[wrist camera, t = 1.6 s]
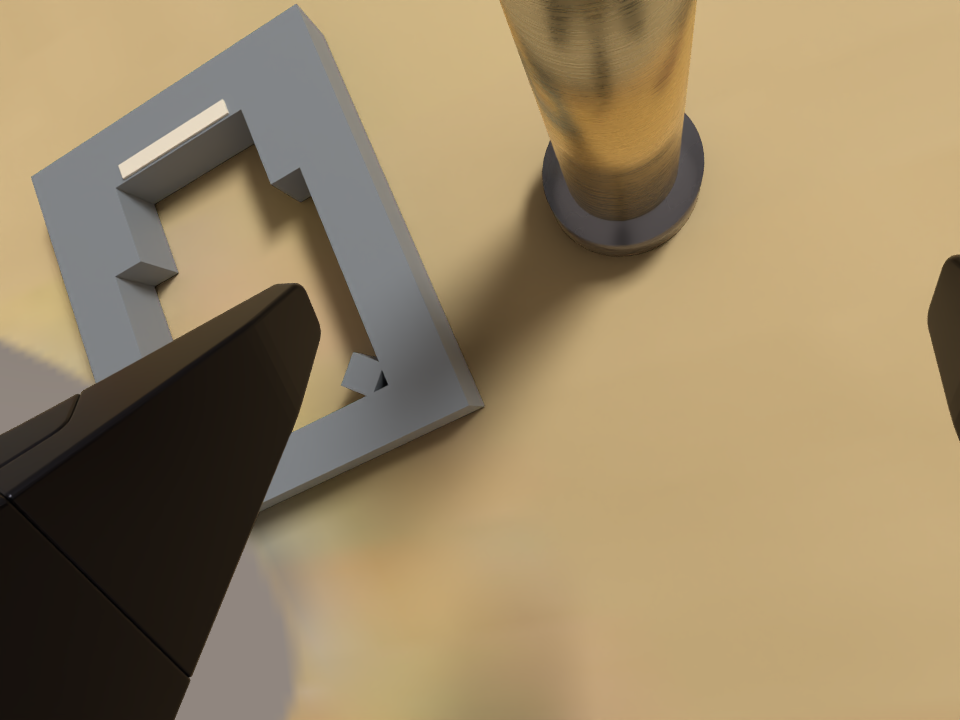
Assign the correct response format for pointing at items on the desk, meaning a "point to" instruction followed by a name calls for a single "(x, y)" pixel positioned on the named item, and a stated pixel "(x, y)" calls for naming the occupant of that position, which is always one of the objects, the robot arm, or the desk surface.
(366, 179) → the square frame
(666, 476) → the desk surface
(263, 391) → the robot arm
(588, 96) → the brass peg
